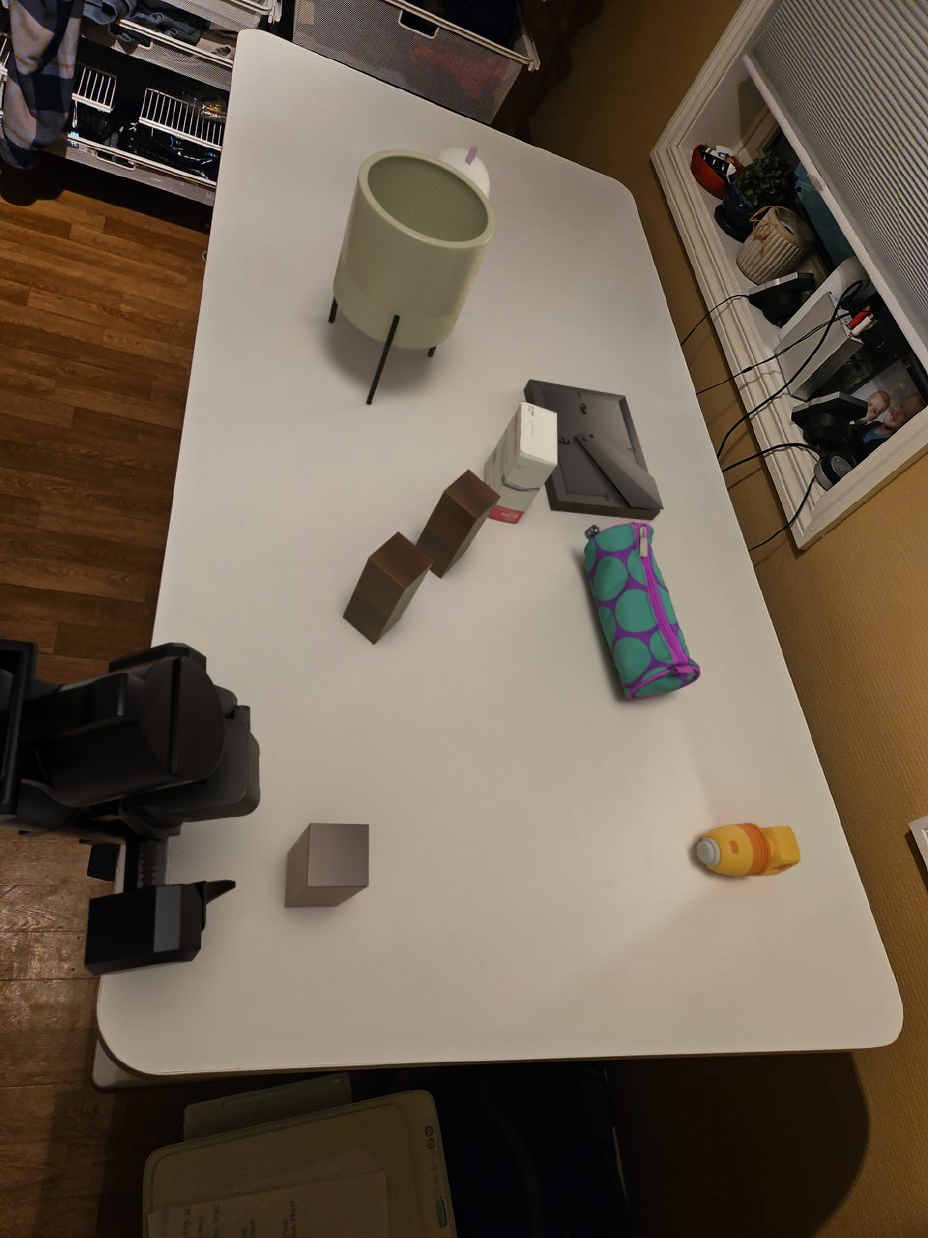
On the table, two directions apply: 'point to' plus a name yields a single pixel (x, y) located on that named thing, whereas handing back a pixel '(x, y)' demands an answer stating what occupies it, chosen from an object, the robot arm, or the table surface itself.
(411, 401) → the table surface
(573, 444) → the picture frame
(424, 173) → the planter
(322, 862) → the walnut block loose
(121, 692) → the robot arm
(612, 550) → the pencil case
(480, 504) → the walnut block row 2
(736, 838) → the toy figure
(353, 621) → the walnut block
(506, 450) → the ink box
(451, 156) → the ornament
